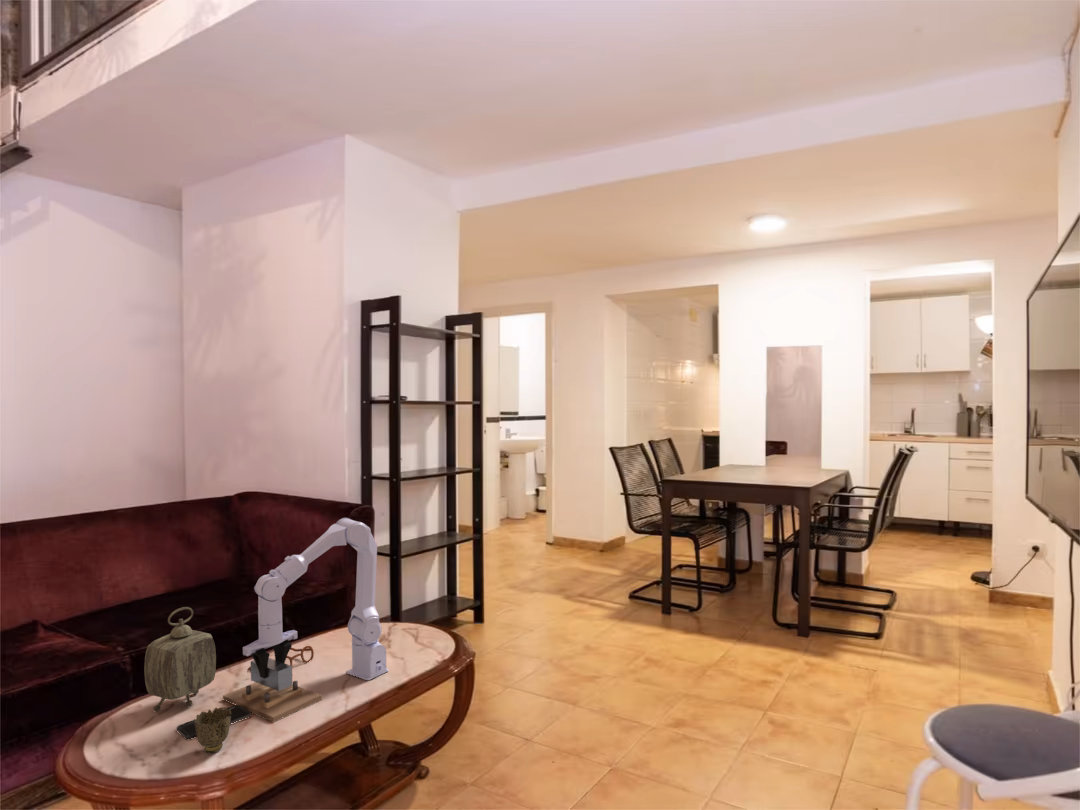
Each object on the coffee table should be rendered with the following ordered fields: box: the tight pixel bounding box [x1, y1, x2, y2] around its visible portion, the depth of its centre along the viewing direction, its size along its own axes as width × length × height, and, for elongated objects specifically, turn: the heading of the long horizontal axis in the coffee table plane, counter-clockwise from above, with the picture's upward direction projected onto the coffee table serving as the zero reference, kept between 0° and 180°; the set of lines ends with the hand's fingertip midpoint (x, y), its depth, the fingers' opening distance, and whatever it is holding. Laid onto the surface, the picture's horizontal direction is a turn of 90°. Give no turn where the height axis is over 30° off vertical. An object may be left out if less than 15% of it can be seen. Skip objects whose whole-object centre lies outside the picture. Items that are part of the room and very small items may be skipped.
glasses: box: [247, 645, 315, 670], centre depth 196 cm, size 13×13×5 cm
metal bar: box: [250, 657, 293, 691], centre depth 173 cm, size 12×4×5 cm, turn 56°
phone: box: [176, 705, 251, 740], centre depth 161 cm, size 8×1×15 cm
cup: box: [193, 707, 231, 754], centre depth 149 cm, size 8×7×8 cm
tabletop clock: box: [143, 606, 217, 713], centre depth 171 cm, size 14×9×25 cm, turn 154°
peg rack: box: [222, 680, 323, 723], centre depth 173 cm, size 22×14×4 cm, turn 56°
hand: (271, 674), depth 173 cm, fingers closed on metal bar, 4 cm apart
